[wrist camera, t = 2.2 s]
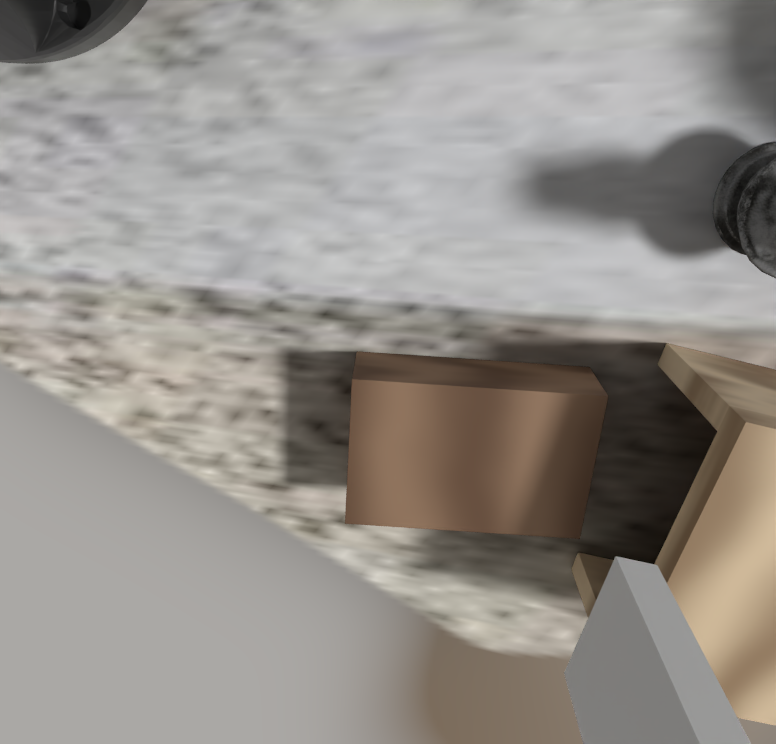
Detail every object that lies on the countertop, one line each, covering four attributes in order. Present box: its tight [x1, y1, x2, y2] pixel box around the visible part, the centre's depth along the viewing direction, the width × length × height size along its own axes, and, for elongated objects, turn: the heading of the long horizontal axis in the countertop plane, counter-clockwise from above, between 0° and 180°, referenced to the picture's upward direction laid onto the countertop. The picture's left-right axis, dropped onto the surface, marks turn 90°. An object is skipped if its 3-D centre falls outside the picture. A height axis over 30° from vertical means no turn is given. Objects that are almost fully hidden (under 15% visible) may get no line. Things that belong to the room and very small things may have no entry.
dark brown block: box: [345, 352, 608, 539], centre depth 36 cm, size 12×8×4 cm, turn 86°
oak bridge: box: [571, 343, 776, 725], centre depth 35 cm, size 11×14×9 cm
